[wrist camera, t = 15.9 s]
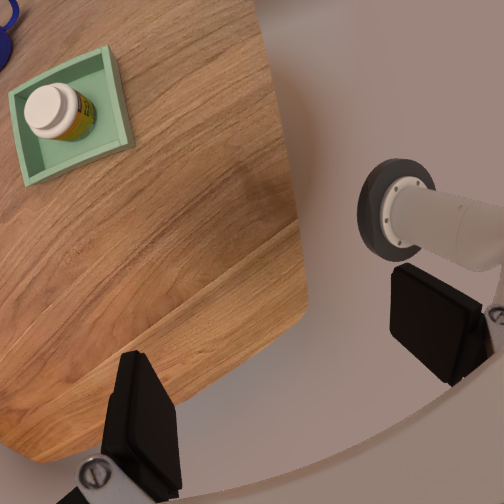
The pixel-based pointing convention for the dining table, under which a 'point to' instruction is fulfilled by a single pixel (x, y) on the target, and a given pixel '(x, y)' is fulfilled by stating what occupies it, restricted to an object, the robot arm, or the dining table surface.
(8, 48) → the mug
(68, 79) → the bin
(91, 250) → the dining table surface
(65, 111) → the supplement bottle
